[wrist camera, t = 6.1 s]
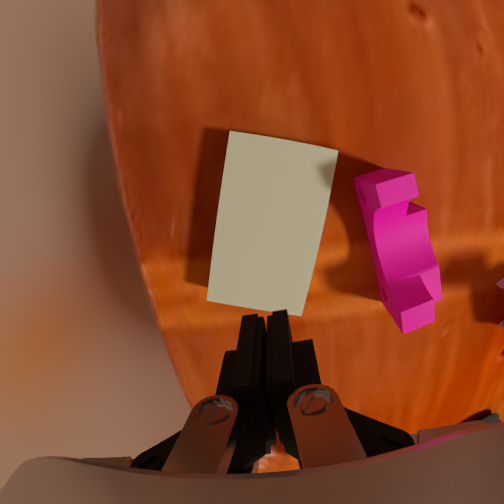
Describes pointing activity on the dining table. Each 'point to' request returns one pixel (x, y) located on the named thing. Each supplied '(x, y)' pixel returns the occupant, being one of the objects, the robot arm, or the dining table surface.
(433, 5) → the dining table surface
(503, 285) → the toy chair
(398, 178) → the toy block
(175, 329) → the dining table surface
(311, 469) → the robot arm
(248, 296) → the base slab
